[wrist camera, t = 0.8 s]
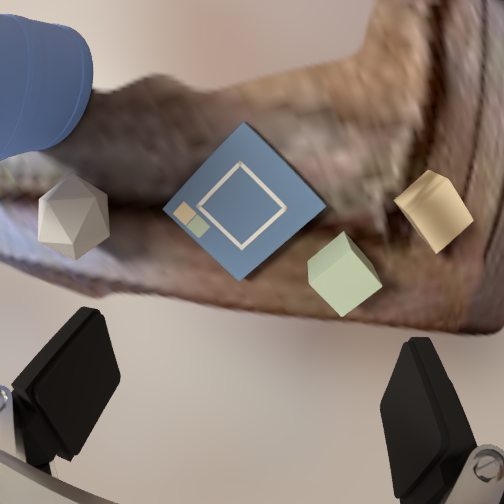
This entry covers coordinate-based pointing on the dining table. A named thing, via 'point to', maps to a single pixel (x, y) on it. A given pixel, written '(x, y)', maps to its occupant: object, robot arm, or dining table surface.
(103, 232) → the die
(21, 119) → the water jug
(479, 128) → the dining table surface
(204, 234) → the board
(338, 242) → the green block
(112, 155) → the dining table surface
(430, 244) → the pine block
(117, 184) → the dining table surface
